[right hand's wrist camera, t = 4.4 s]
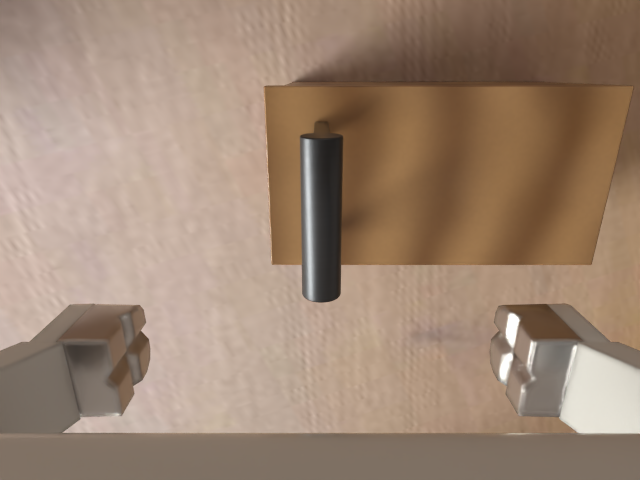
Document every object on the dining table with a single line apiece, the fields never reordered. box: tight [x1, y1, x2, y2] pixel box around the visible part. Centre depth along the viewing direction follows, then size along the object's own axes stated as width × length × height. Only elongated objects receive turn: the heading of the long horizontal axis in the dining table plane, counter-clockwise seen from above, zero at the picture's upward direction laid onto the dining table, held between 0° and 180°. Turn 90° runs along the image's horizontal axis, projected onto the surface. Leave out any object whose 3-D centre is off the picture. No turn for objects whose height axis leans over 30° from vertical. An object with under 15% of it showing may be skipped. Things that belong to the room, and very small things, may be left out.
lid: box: [264, 85, 634, 302], centre depth 21 cm, size 18×10×8 cm, turn 90°
